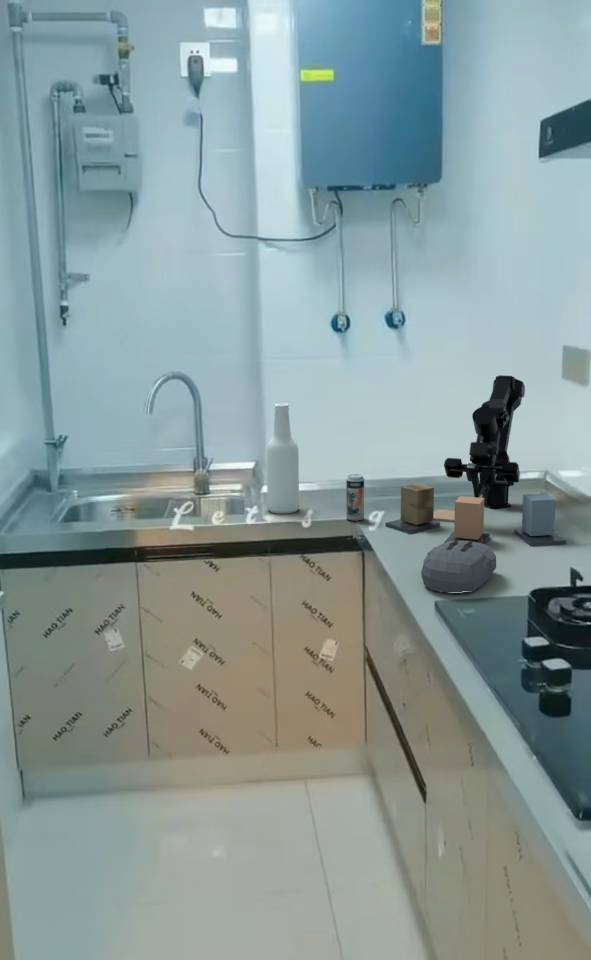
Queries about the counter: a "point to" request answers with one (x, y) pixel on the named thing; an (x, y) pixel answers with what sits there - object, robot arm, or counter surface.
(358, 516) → the beer can
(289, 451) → the alcohol
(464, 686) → the counter surface
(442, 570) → the small grey backpack
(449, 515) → the card
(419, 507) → the brown wooden block
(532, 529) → the blue-grey rectangular block
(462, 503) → the tan block
